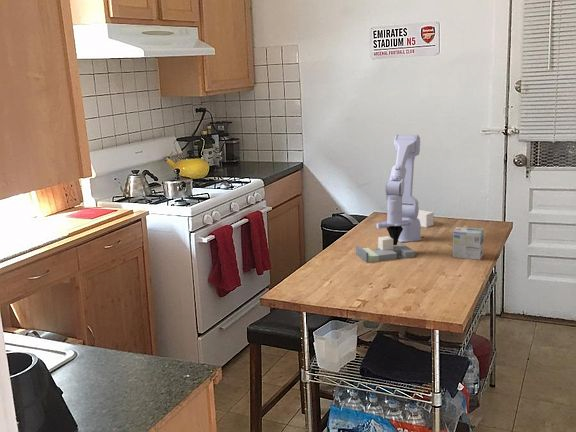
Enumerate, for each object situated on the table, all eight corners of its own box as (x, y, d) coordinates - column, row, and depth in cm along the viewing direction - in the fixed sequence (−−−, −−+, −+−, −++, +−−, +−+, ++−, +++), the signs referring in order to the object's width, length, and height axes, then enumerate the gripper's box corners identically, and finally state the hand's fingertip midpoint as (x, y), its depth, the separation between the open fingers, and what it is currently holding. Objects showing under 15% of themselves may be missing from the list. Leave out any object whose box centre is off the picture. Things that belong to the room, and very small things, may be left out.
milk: (426, 214, 296) (385, 207, 311) (426, 227, 298) (385, 220, 312) (434, 212, 300) (393, 205, 315) (433, 225, 302) (393, 217, 317)
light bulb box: (483, 255, 256) (484, 228, 253) (480, 260, 250) (481, 232, 247) (455, 252, 260) (456, 226, 258) (451, 257, 254) (452, 230, 252)
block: (388, 245, 264) (388, 236, 263) (393, 248, 260) (393, 239, 259) (378, 247, 263) (378, 237, 262) (382, 250, 259) (382, 240, 258)
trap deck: (402, 249, 267) (402, 240, 266) (414, 256, 256) (414, 247, 256) (356, 254, 262) (355, 245, 261) (366, 262, 252) (366, 253, 251)
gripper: (381, 215, 253) (381, 249, 257) (416, 211, 257) (415, 245, 260) (374, 211, 260) (374, 244, 263) (408, 207, 264) (407, 240, 267)
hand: (394, 244), depth 262 cm, fingers closed
